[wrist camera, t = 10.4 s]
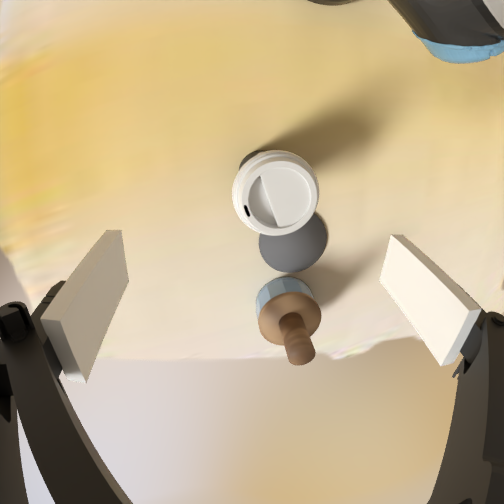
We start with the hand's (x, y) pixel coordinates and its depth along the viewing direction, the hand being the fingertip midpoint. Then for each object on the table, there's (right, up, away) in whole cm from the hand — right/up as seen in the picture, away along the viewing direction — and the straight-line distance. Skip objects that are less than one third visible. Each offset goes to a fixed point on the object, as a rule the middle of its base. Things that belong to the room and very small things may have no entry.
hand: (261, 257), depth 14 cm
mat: (+6, +2, +35) cm, 36 cm away
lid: (+6, -11, +36) cm, 38 cm away
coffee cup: (+1, +12, +30) cm, 33 cm away
